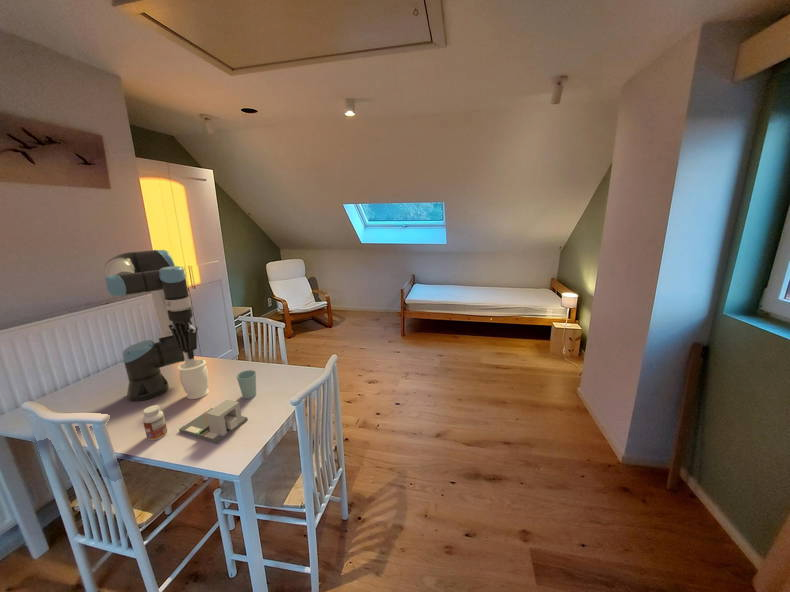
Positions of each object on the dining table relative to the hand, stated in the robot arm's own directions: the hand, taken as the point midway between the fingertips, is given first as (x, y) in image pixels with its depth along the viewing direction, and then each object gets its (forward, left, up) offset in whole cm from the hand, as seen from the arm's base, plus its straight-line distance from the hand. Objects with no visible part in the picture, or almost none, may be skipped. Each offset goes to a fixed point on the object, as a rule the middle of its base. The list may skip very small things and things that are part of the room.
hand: (190, 365), depth 126 cm
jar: (-14, +10, -21) cm, 27 cm away
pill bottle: (-3, -15, -21) cm, 26 cm away
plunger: (+19, -6, -20) cm, 28 cm away
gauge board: (+12, -4, -21) cm, 25 cm away
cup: (+9, +17, -21) cm, 29 cm away
